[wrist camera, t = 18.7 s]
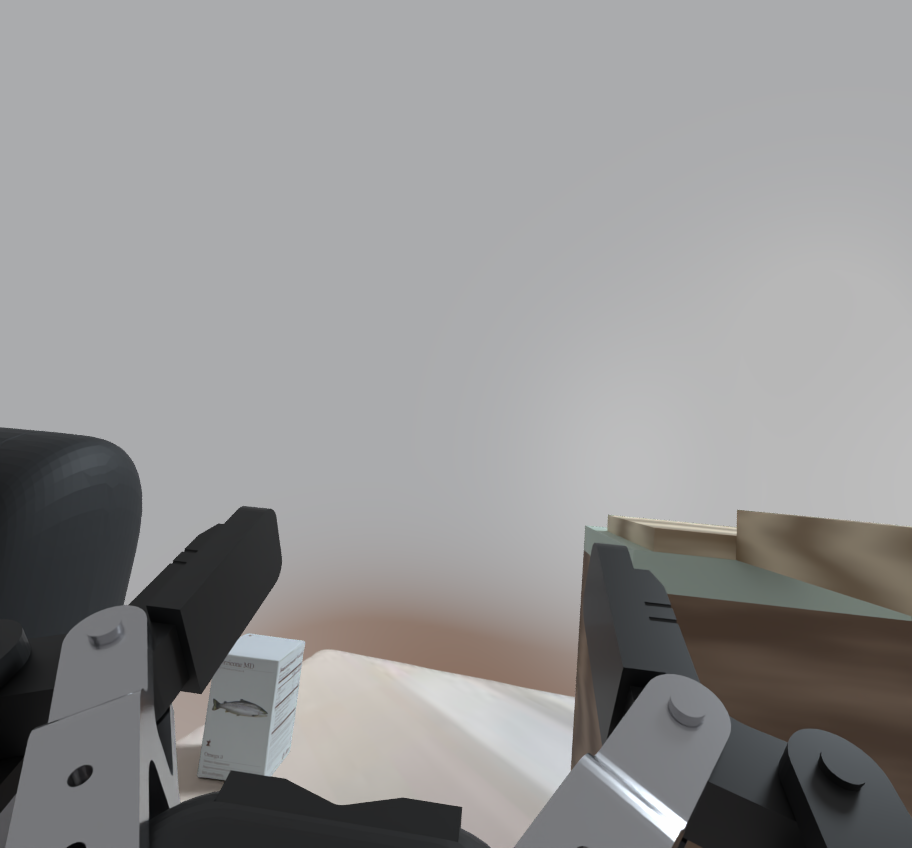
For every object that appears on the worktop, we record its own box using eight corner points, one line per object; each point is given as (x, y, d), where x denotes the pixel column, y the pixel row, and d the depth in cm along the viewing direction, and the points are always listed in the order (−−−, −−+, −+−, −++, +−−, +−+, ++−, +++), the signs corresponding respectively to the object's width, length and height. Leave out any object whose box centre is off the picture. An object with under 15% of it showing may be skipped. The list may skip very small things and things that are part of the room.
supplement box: (193, 779, 51) (212, 651, 52) (232, 742, 58) (247, 631, 60) (262, 790, 50) (279, 660, 51) (293, 751, 57) (306, 638, 59)
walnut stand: (1297, 1421, 19) (1225, 610, 22) (600, 1240, 22) (633, 549, 25) (937, 996, 35) (928, 559, 38) (561, 924, 38) (585, 525, 41)
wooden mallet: (1320, 676, 11) (1309, 564, 12) (803, 617, 12) (803, 517, 13) (762, 546, 36) (763, 511, 36) (607, 530, 37) (609, 497, 37)
